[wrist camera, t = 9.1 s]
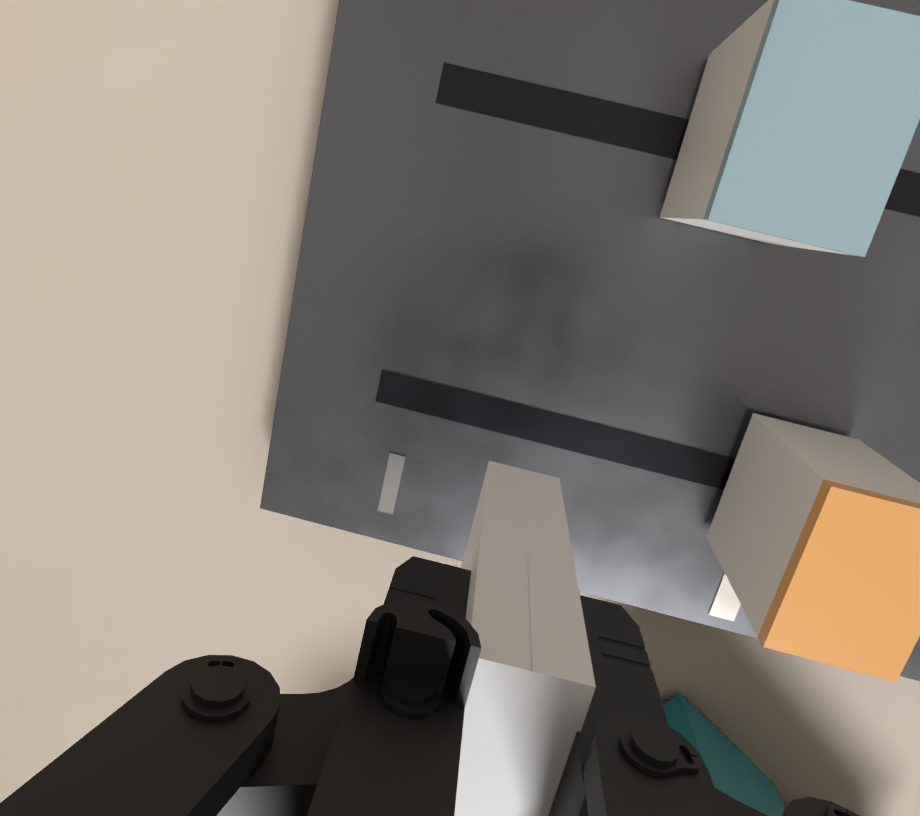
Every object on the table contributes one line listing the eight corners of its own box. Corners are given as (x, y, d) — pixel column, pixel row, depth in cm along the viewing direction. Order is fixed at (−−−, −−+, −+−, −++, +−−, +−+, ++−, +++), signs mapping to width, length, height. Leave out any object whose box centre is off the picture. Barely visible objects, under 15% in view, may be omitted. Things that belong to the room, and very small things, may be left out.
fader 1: (659, 217, 18) (707, 219, 13) (709, 54, 17) (783, -15, 12) (771, 243, 18) (865, 257, 13) (829, 81, 17) (957, 24, 12)
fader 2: (706, 537, 21) (763, 647, 15) (752, 412, 19) (831, 486, 14) (805, 562, 20) (896, 681, 15) (858, 439, 19) (976, 523, 14)
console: (281, 484, 24) (259, 508, 22) (379, -104, 19) (360, -141, 17) (993, 669, 23) (1036, 712, 21) (1304, 103, 18) (1399, 90, 16)
